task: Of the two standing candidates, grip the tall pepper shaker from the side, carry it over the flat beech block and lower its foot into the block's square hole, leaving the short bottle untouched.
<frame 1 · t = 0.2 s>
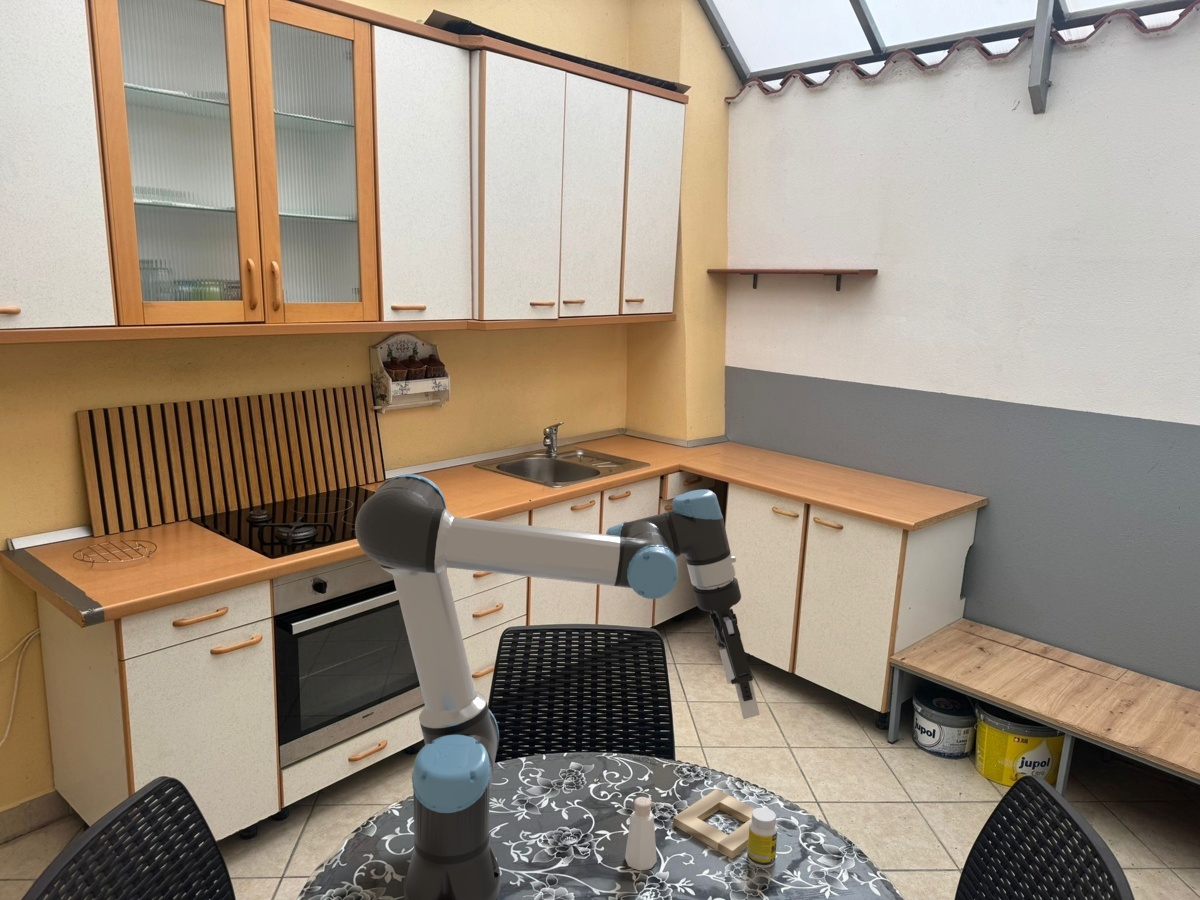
hand: (742, 698, 141), 27 cm above the table, tool tilted 15°, fingers open, 13 cm apart
hole block: (723, 825, 150), on the table
supplement bottle: (761, 860, 141), on the table
pepper shaker: (640, 861, 140), on the table
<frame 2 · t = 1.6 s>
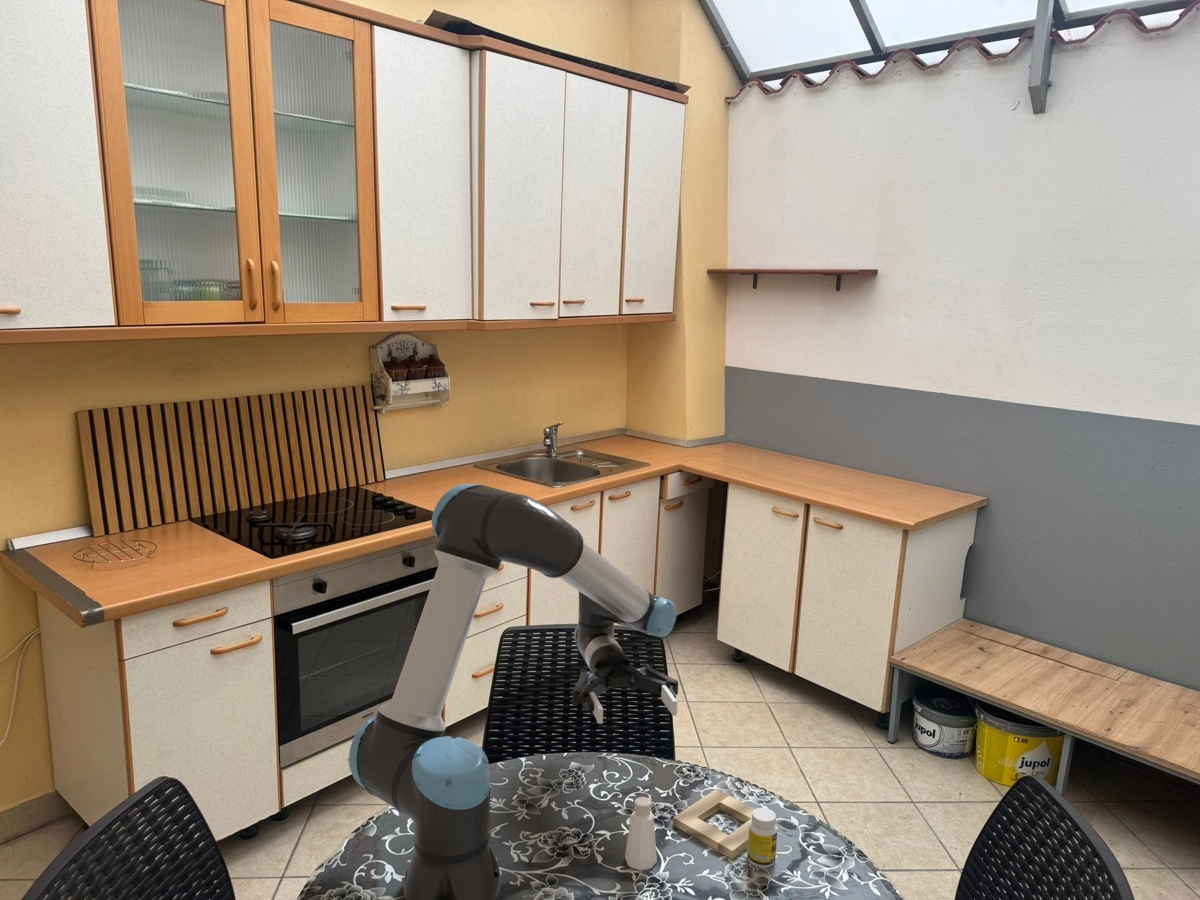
hand: (638, 712, 145), 22 cm above the table, tool horizontal, fingers open, 13 cm apart
nothing on the table moved.
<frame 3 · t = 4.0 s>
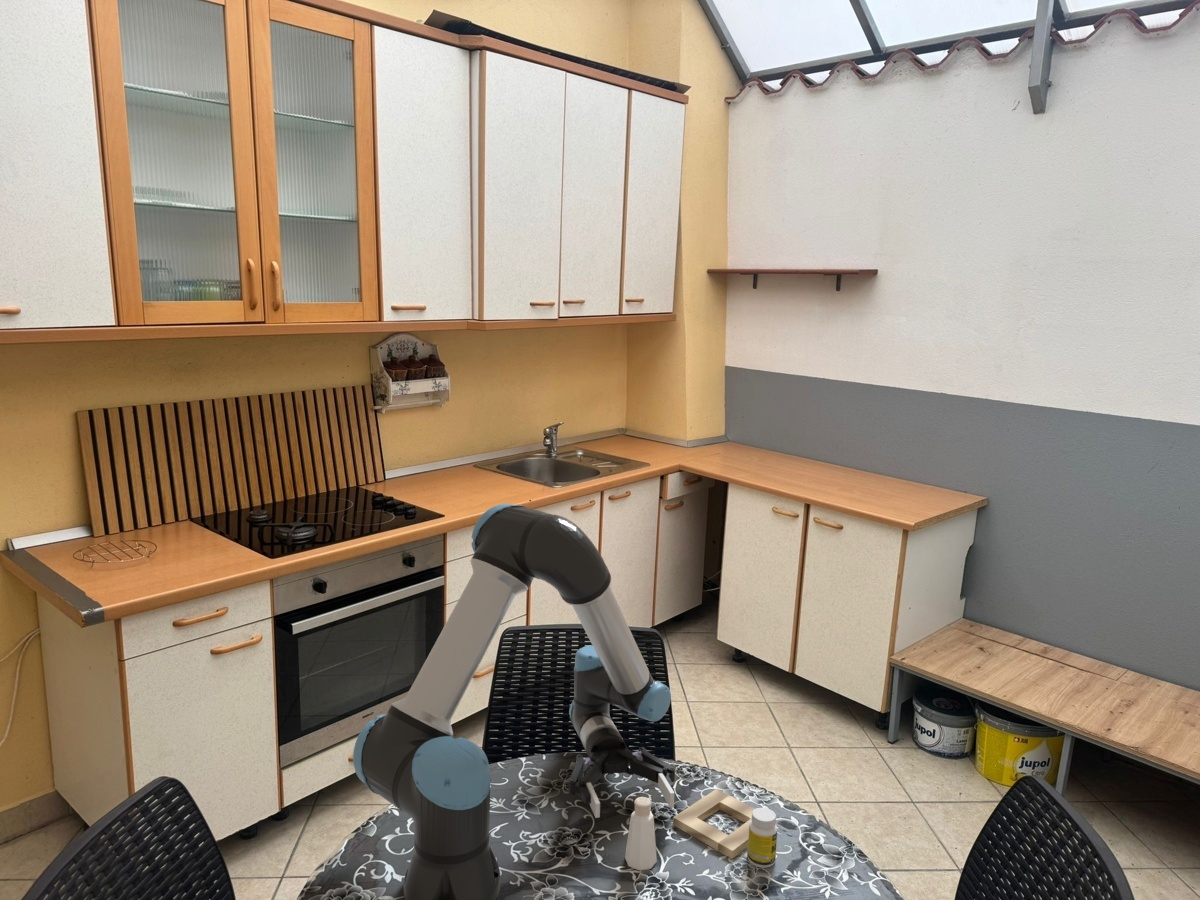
hand: (635, 805, 144), 6 cm above the table, tool horizontal, fingers open, 13 cm apart
nothing on the table moved.
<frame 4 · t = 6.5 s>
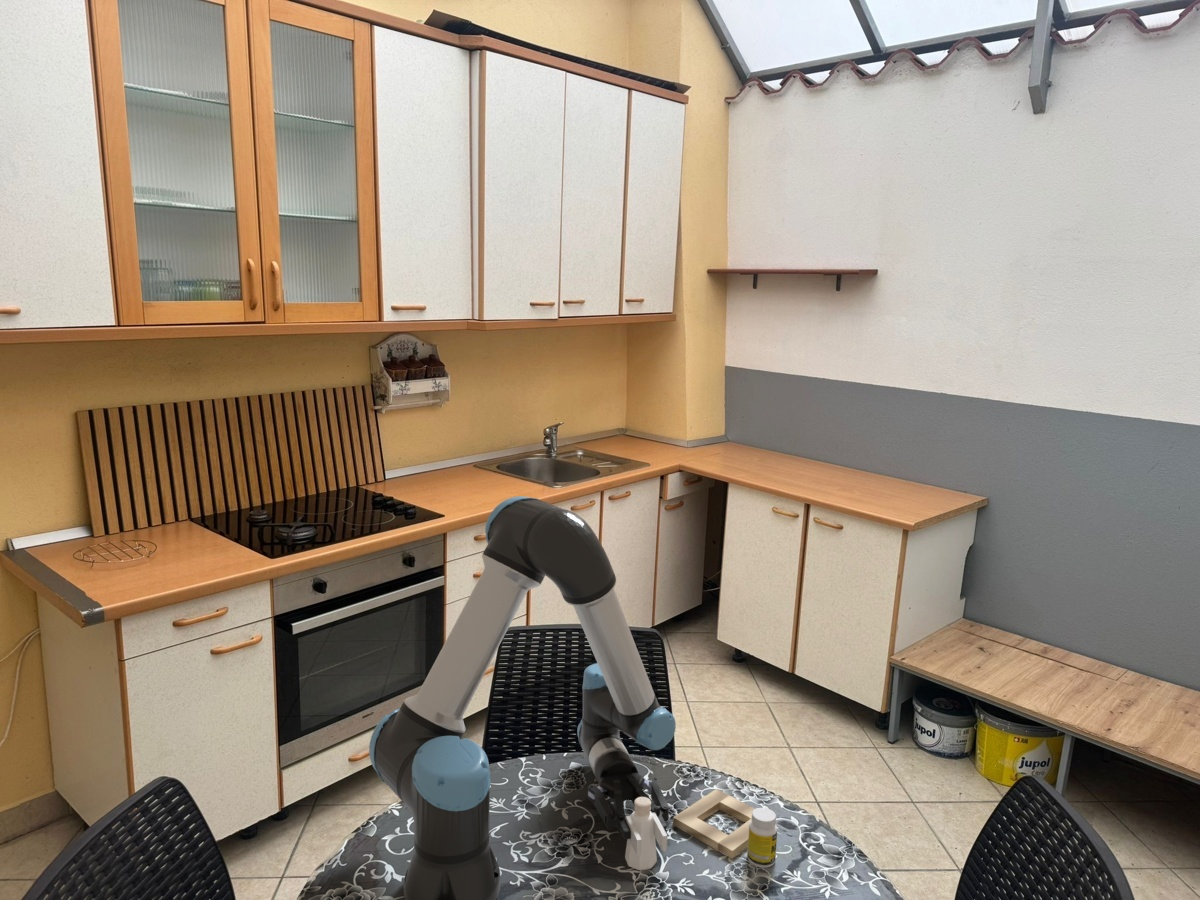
hand: (652, 845, 133), 7 cm above the table, tool horizontal, fingers closed on pepper shaker, 4 cm apart
pepper shaker: (640, 861, 140), on the table, touching gripper
everything else where it was.
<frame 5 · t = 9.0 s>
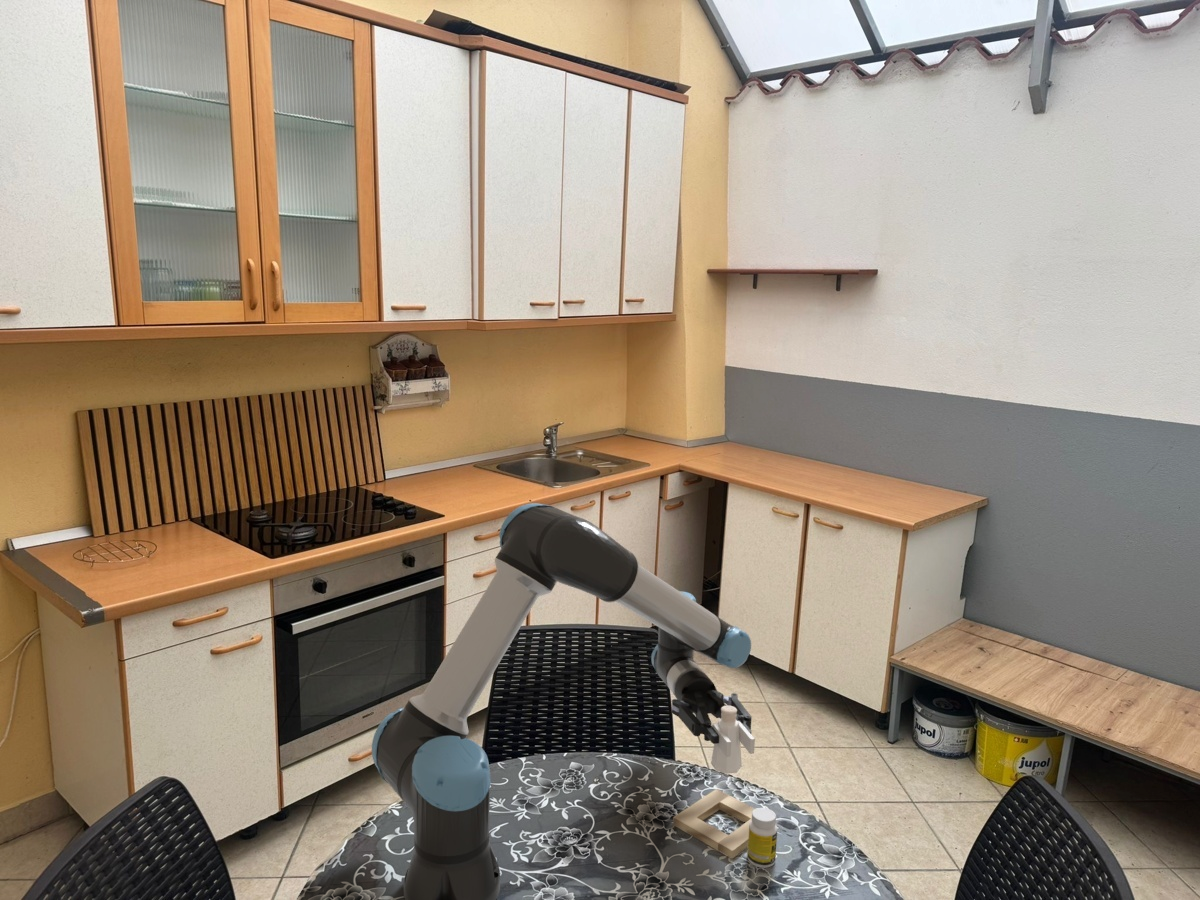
hand: (740, 747, 141), 18 cm above the table, tool horizontal, fingers closed on pepper shaker, 4 cm apart
pepper shaker: (726, 766, 148), point 12 cm above the table, touching gripper
everything else where it was.
when the fingers open (7 cm above the table, at t = 11.7 s): pepper shaker stays where it is, resting in hole block.
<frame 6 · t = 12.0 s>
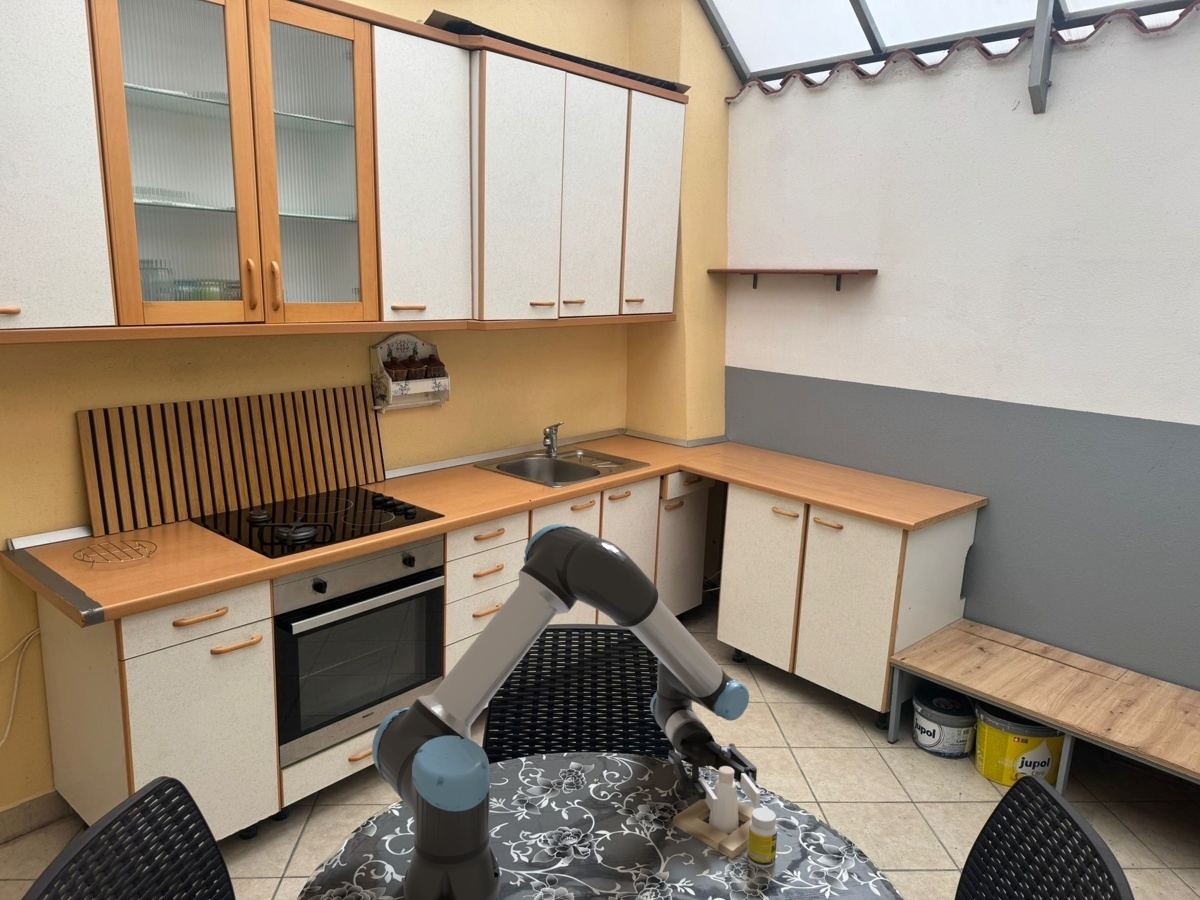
hand: (736, 803, 144), 7 cm above the table, tool horizontal, fingers open, 7 cm apart
pepper shaker: (723, 826, 150), resting in hole block
everything else where it was.
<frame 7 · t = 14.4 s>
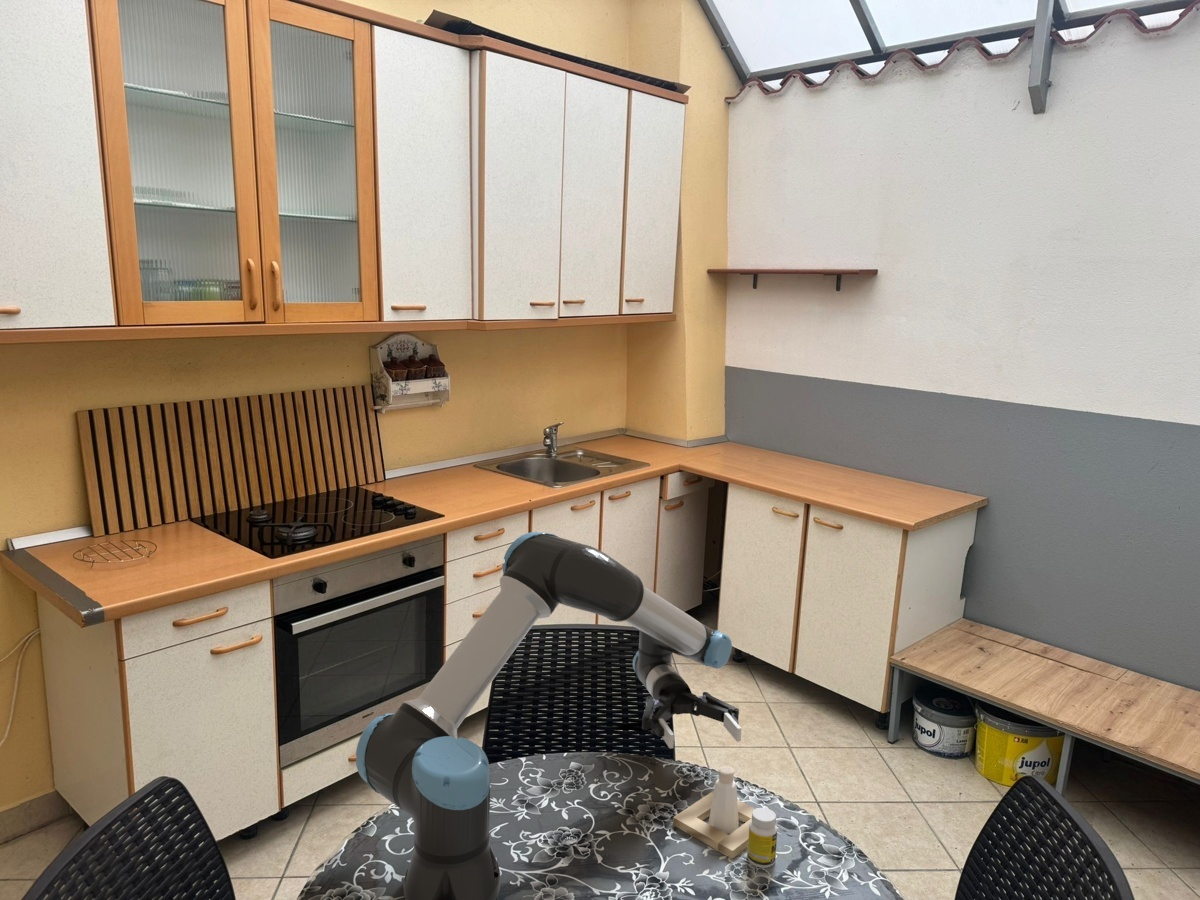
hand: (706, 738, 156), 12 cm above the table, tool horizontal, fingers open, 13 cm apart
nothing on the table moved.
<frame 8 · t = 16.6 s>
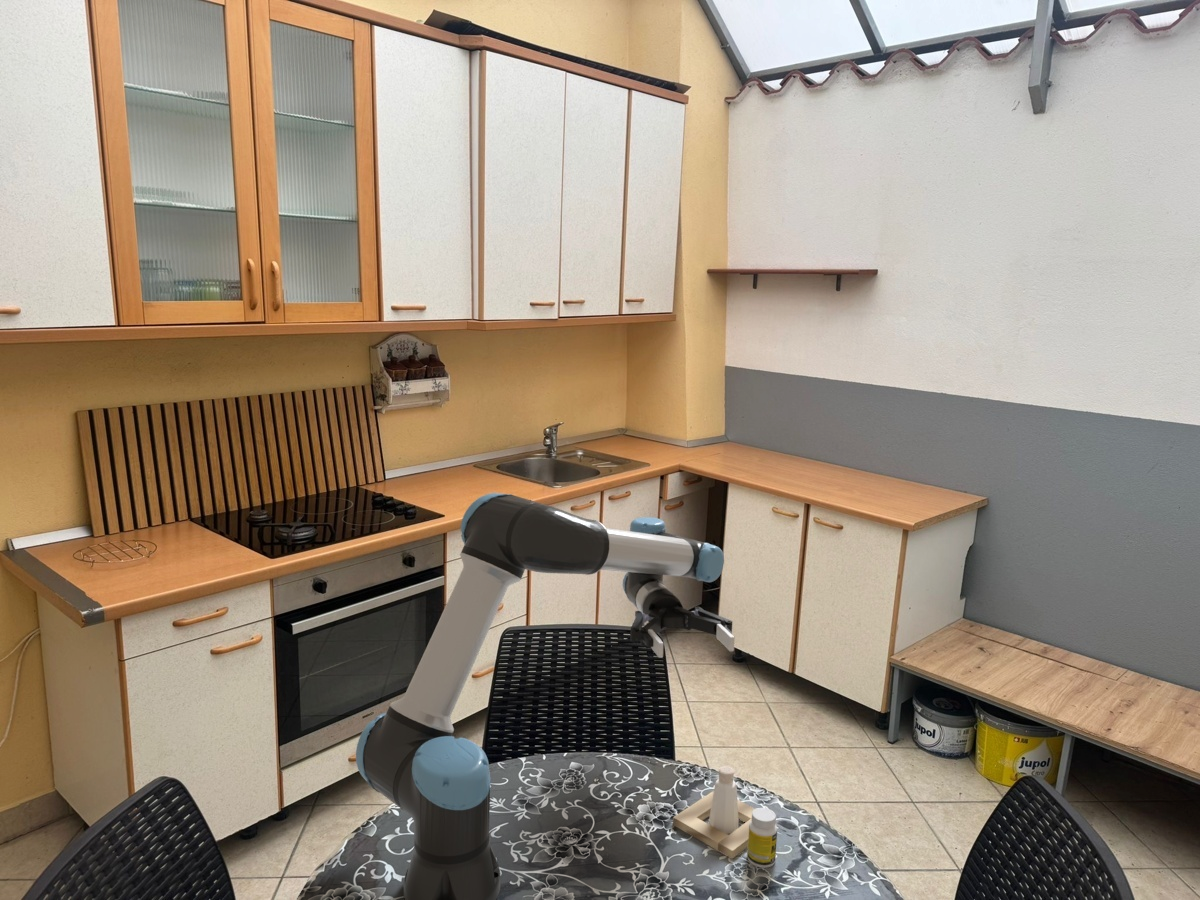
hand: (697, 647, 149), 32 cm above the table, tool horizontal, fingers open, 13 cm apart
nothing on the table moved.
at the end: pepper shaker 0.0 cm from the hole block (horizontally); pepper shaker resting in hole block; pepper shaker tilted 0° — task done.
